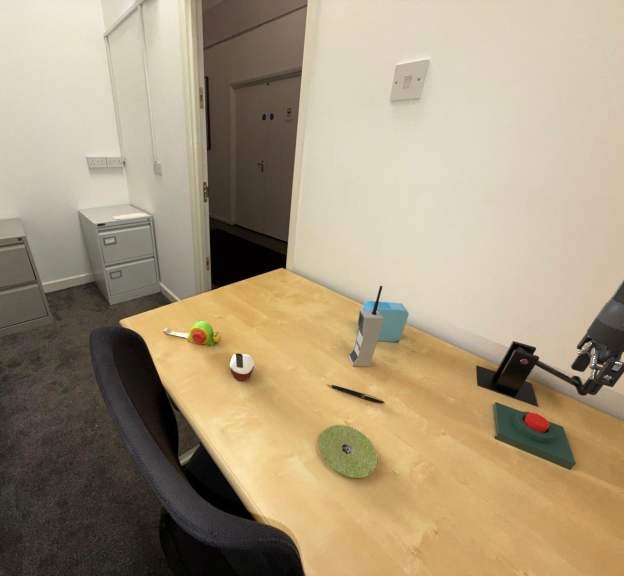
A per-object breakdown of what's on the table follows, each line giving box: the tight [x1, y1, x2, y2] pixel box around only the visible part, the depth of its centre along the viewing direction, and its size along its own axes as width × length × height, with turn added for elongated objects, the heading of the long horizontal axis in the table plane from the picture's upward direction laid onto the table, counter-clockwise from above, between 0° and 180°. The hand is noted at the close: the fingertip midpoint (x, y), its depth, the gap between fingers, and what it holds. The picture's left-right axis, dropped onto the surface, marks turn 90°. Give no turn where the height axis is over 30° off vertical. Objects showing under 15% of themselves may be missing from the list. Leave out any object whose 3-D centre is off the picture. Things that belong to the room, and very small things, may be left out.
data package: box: [357, 300, 410, 343], centre depth 94 cm, size 12×4×12 cm, turn 84°
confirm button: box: [524, 412, 550, 433], centre depth 64 cm, size 4×4×2 cm
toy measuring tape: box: [162, 320, 221, 346], centre depth 93 cm, size 6×19×7 cm, turn 71°
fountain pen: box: [326, 383, 386, 404], centre depth 75 cm, size 14×1×2 cm, turn 66°
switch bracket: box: [475, 340, 540, 408], centre depth 75 cm, size 12×9×13 cm
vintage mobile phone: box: [348, 285, 384, 368], centre depth 80 cm, size 4×5×25 cm
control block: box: [492, 401, 576, 471], centre depth 65 cm, size 12×10×4 cm
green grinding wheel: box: [318, 424, 378, 479], centre depth 61 cm, size 11×11×2 cm
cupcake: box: [229, 352, 255, 381], centre depth 77 cm, size 10×6×12 cm, turn 147°
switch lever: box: [512, 346, 588, 397], centre depth 71 cm, size 14×6×2 cm, turn 57°
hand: (581, 380), depth 69 cm, fingers open, 8 cm apart
